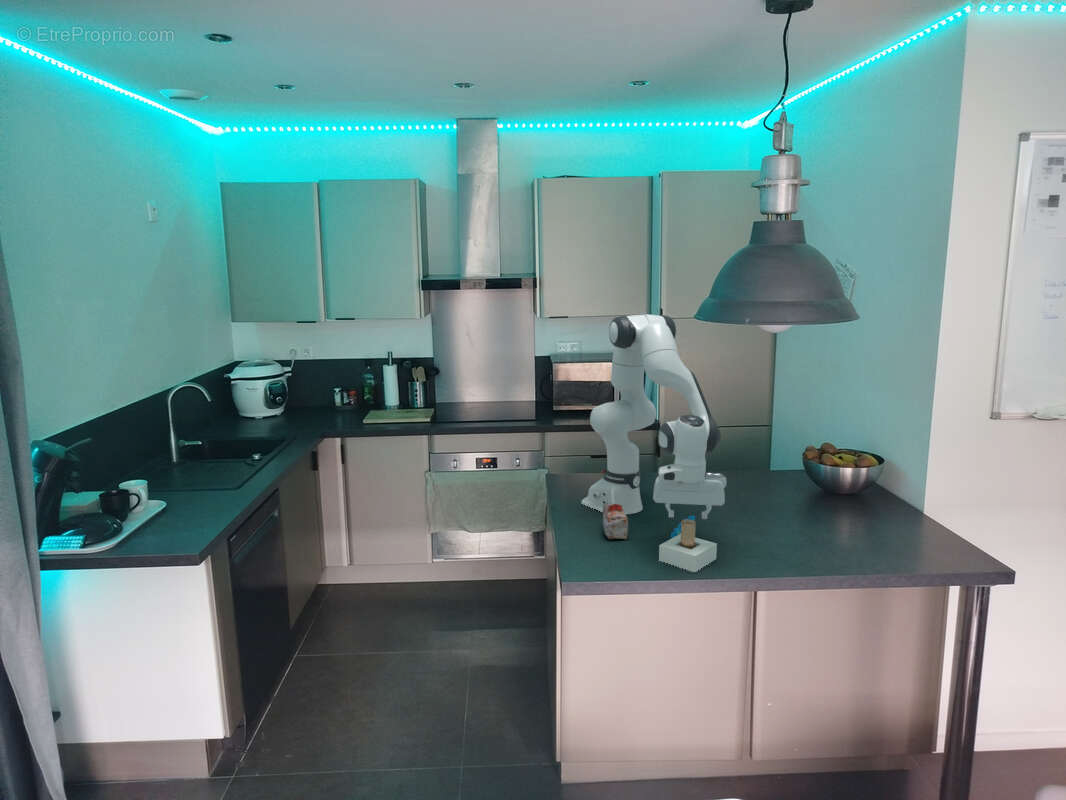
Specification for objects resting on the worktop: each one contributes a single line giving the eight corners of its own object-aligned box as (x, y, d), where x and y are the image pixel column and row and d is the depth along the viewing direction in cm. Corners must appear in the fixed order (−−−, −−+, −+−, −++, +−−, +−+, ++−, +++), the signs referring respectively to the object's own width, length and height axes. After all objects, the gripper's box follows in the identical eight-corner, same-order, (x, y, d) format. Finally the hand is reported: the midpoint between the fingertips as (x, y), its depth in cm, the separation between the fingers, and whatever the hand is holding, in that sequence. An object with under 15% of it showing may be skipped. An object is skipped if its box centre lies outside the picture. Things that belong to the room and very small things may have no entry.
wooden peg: (677, 560, 210) (678, 522, 208) (685, 556, 213) (686, 518, 211) (689, 564, 207) (690, 525, 205) (696, 560, 210) (698, 521, 208)
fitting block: (658, 561, 210) (659, 545, 209) (680, 548, 218) (681, 533, 217) (694, 572, 202) (695, 556, 201) (716, 559, 210) (716, 543, 209)
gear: (673, 525, 233) (694, 509, 228) (685, 538, 233) (708, 522, 228) (664, 542, 223) (687, 525, 218) (678, 556, 223) (701, 539, 218)
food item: (630, 541, 225) (630, 511, 223) (605, 542, 225) (605, 512, 223) (622, 525, 238) (622, 497, 237) (598, 526, 238) (598, 498, 236)
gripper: (725, 470, 207) (723, 515, 209) (653, 467, 209) (652, 512, 212) (728, 477, 200) (725, 523, 203) (654, 474, 203) (652, 519, 206)
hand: (687, 517), depth 208 cm, fingers open, 8 cm apart
